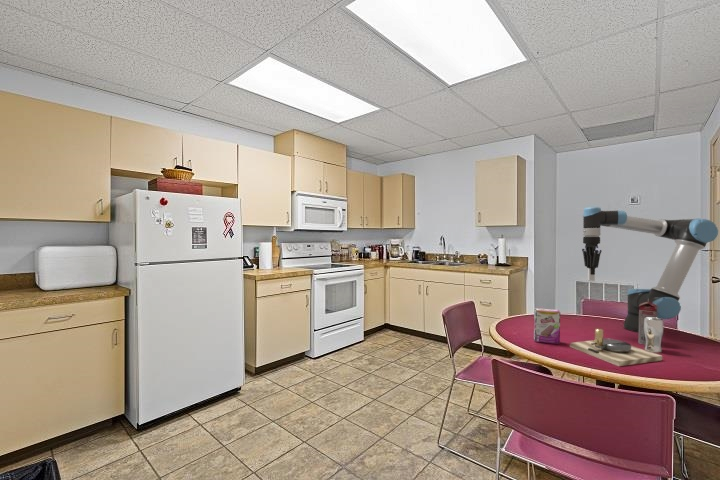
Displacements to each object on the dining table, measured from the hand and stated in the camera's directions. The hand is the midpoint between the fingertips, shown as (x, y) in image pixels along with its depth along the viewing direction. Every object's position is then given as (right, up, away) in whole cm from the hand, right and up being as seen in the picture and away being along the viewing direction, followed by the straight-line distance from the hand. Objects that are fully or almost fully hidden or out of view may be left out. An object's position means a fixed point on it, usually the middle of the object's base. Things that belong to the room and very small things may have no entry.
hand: (591, 280), depth 180 cm
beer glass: (+13, -30, -23) cm, 40 cm away
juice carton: (+19, -30, -13) cm, 38 cm away
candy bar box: (-29, -30, -10) cm, 43 cm away
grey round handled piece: (-10, -28, -26) cm, 40 cm away
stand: (-8, -30, -26) cm, 40 cm away
